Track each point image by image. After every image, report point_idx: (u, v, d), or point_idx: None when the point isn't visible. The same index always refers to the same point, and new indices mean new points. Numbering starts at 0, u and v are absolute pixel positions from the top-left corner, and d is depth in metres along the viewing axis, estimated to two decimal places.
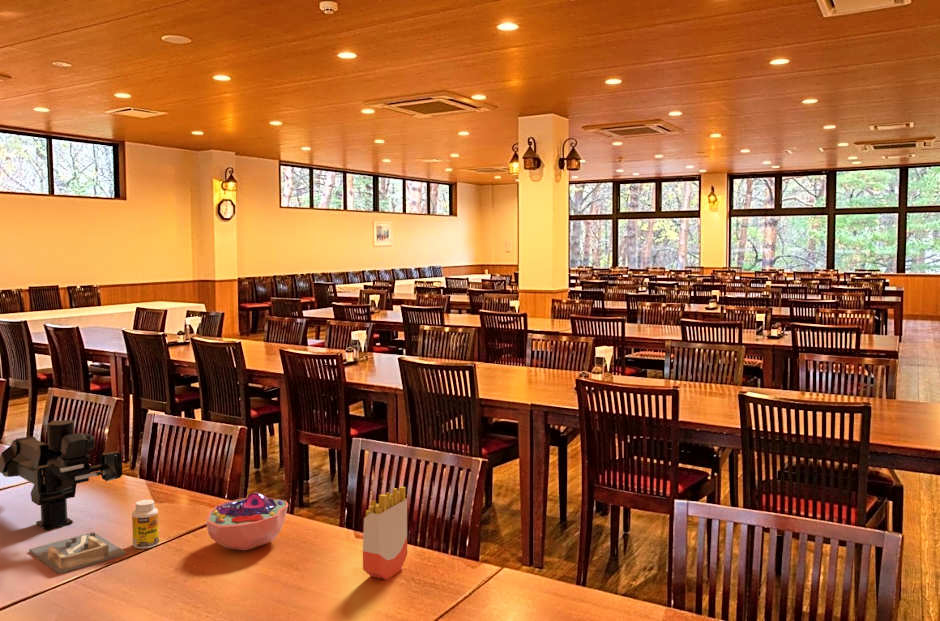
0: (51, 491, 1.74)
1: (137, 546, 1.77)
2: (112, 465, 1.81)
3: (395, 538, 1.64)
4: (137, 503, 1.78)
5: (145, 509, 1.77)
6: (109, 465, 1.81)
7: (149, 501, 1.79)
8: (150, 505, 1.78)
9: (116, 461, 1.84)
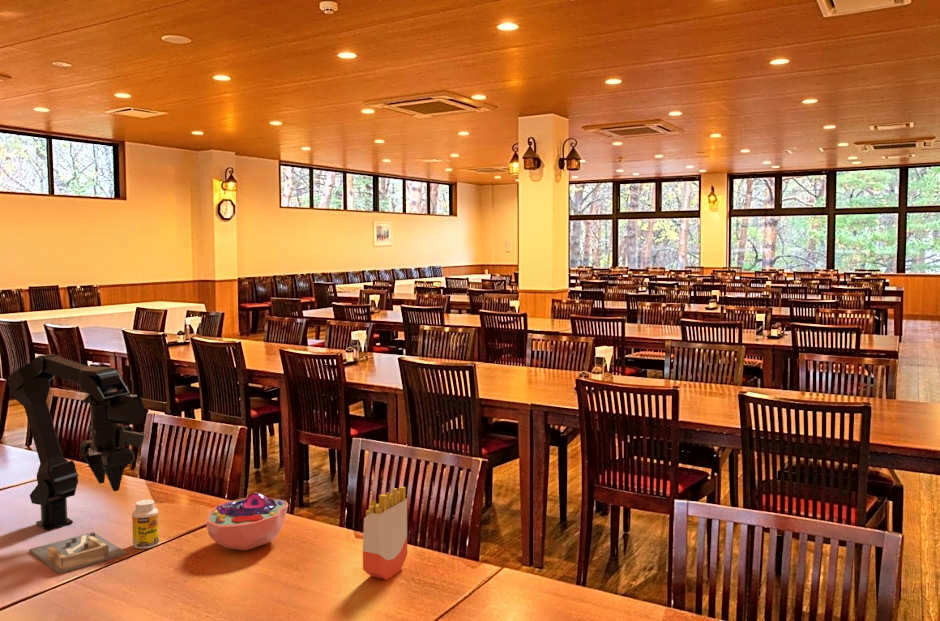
0: None
1: (137, 546, 1.77)
2: None
3: (395, 538, 1.64)
4: (137, 503, 1.78)
5: (145, 509, 1.77)
6: None
7: (149, 501, 1.79)
8: (150, 505, 1.78)
9: None
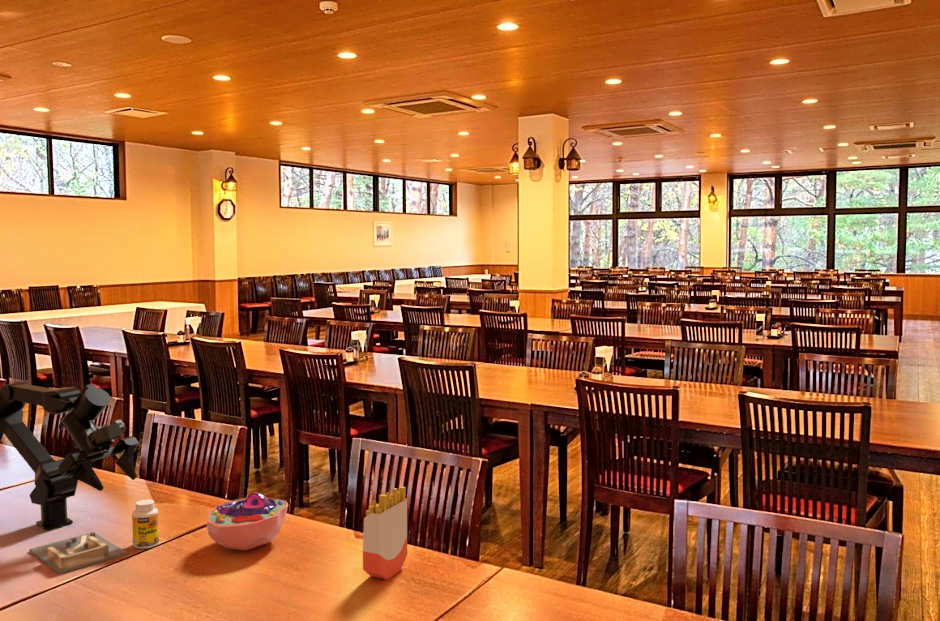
0: (73, 476, 1.78)
1: (137, 546, 1.77)
2: (132, 461, 1.87)
3: (395, 538, 1.64)
4: (137, 503, 1.78)
5: (145, 509, 1.77)
6: (129, 460, 1.87)
7: (149, 501, 1.79)
8: (150, 505, 1.78)
9: (133, 451, 1.90)
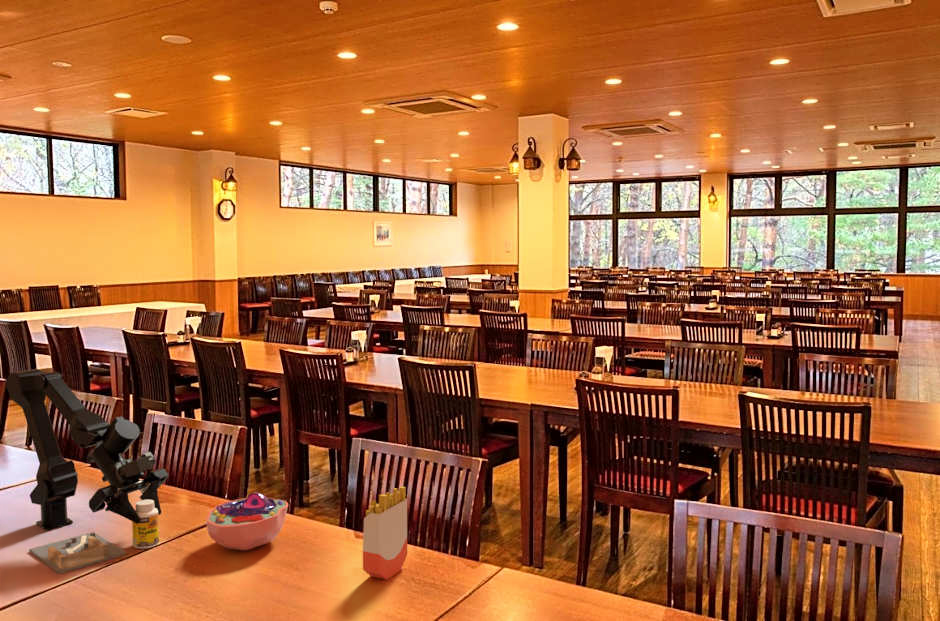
0: (110, 509, 1.76)
1: (137, 546, 1.77)
2: (156, 496, 1.82)
3: (395, 538, 1.64)
4: (137, 503, 1.78)
5: (145, 509, 1.77)
6: (154, 495, 1.82)
7: (149, 501, 1.79)
8: (150, 505, 1.78)
9: (157, 485, 1.85)
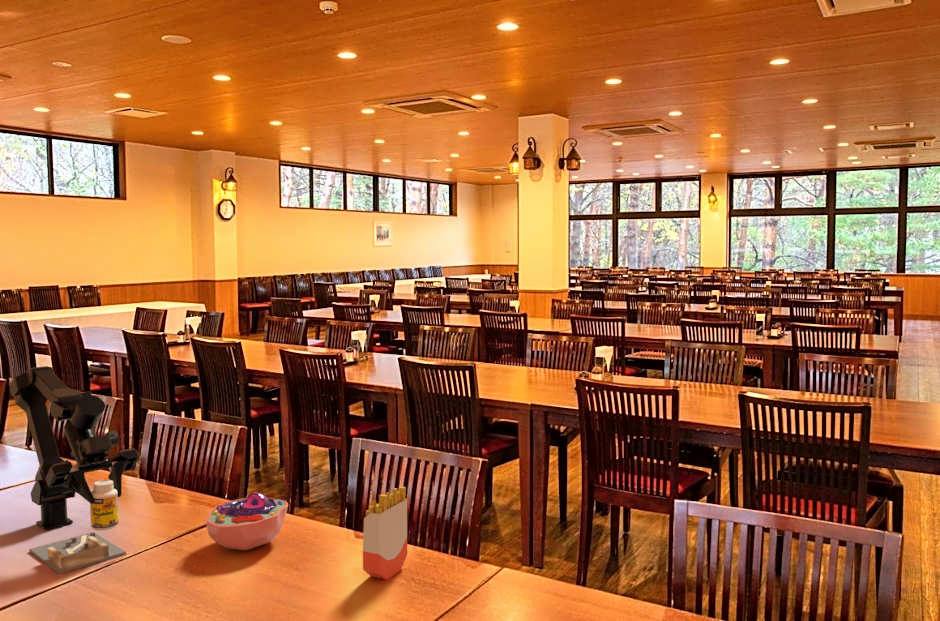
0: (69, 486, 1.71)
1: (92, 527, 1.71)
2: (120, 477, 1.75)
3: (395, 538, 1.64)
4: (95, 483, 1.71)
5: (101, 490, 1.70)
6: (117, 476, 1.75)
7: (108, 482, 1.72)
8: (106, 485, 1.71)
9: (125, 465, 1.78)
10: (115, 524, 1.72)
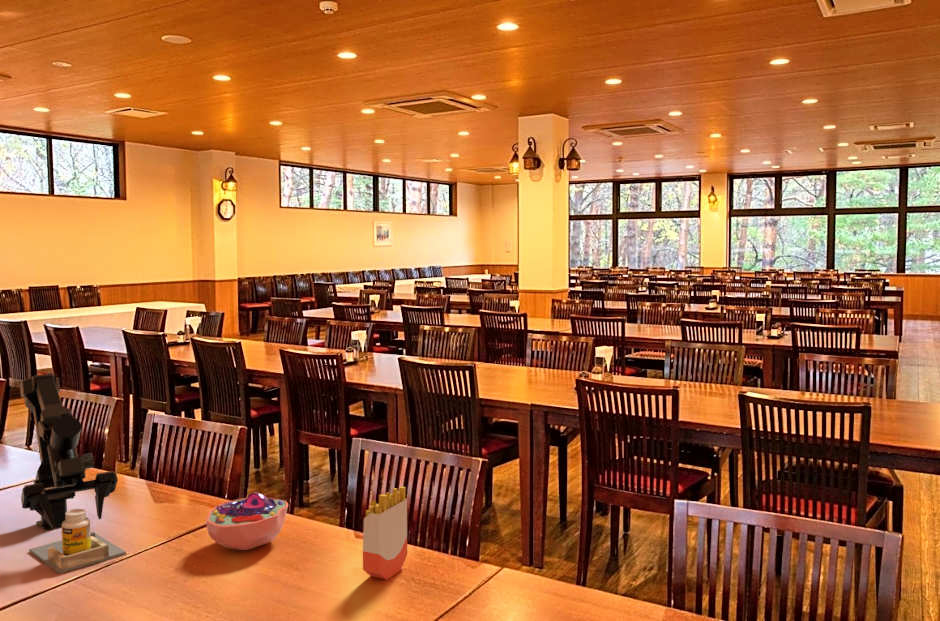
0: (35, 509, 1.70)
1: None
2: (102, 499, 1.74)
3: (395, 538, 1.64)
4: (67, 512, 1.70)
5: (70, 520, 1.68)
6: (99, 498, 1.74)
7: (79, 511, 1.70)
8: (76, 516, 1.69)
9: (110, 487, 1.76)
10: None
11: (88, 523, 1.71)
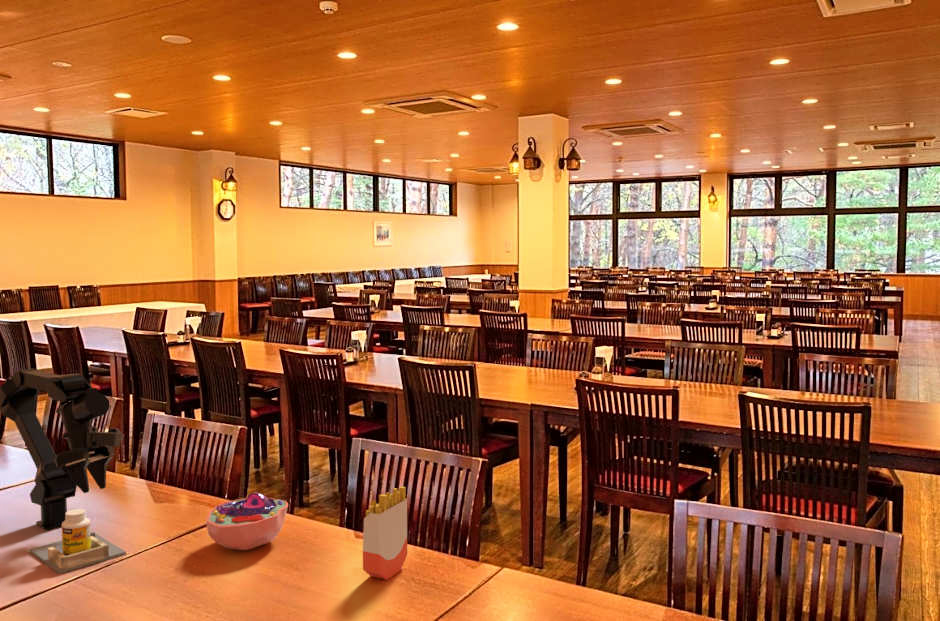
0: (64, 469, 1.76)
1: None
2: (105, 470, 1.88)
3: (395, 538, 1.64)
4: (67, 512, 1.70)
5: (70, 520, 1.68)
6: (104, 469, 1.88)
7: (79, 511, 1.70)
8: (76, 516, 1.69)
9: None
10: None
11: (88, 523, 1.71)
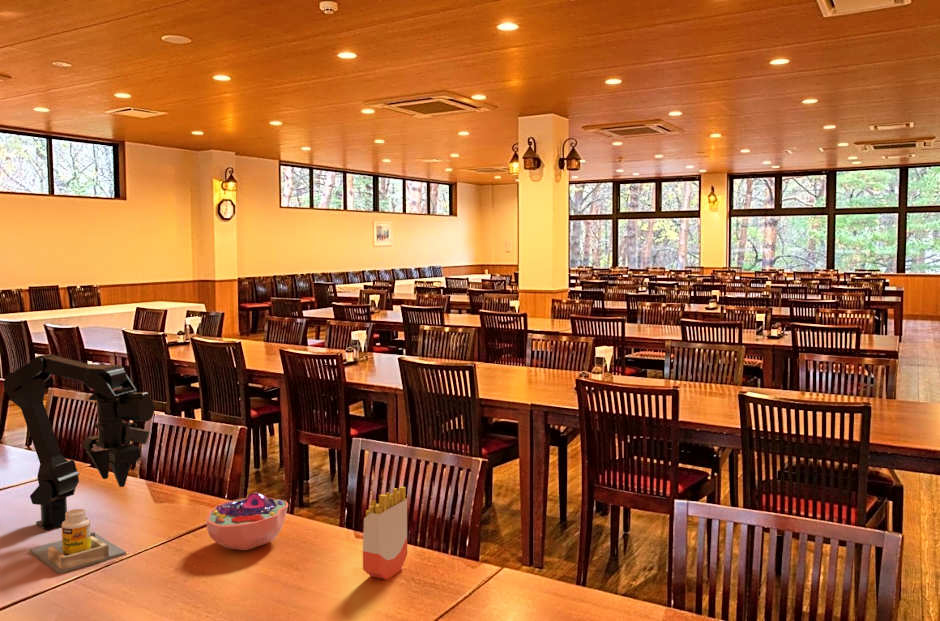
0: (114, 464, 1.80)
1: None
2: None
3: (395, 538, 1.64)
4: (67, 512, 1.70)
5: (70, 520, 1.68)
6: None
7: (79, 511, 1.70)
8: (76, 516, 1.69)
9: None
10: None
11: (88, 523, 1.71)
